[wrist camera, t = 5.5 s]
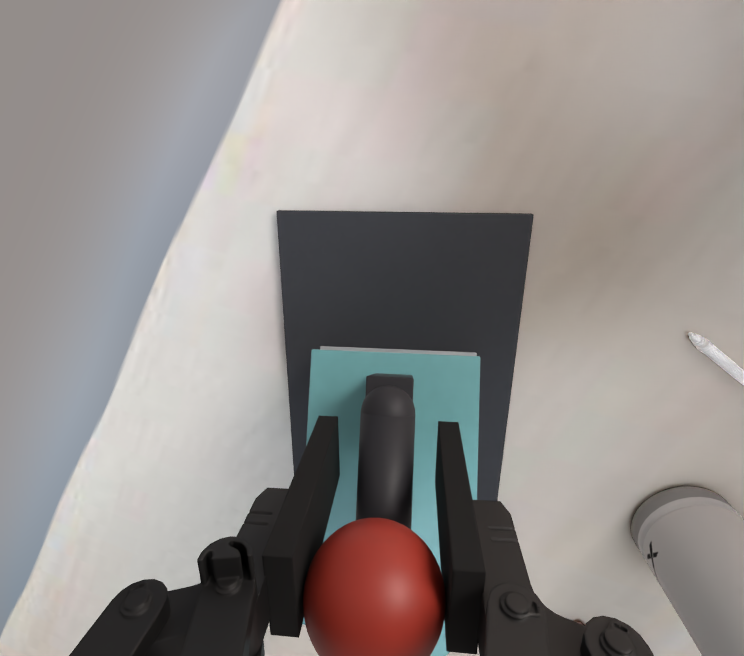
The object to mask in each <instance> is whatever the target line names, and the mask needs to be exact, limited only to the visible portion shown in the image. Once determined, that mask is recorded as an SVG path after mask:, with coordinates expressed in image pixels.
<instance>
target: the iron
mask: <svg viewBox="0 0 744 656" xmlns="http://www.w3.org/2000/svg"><path fill="white" fill-rule="evenodd" d="M479 395H480V357H479V356H477V353H475V352H451V351H427V350H403V349H379V348H355V347H331V346H320V350H319V349H312V351H311V368H310V386H309V404H308V423H307V441H306V446H307V443H308V441H309V438H310V436H311V433H312V431H313V428H314V426H315V423H316V421H317V419H318V416H319V415H320V416H338V430H339V461H340V477H339V481H338V485H337V489H336V493H335V497H334V501H333V505H332V509H331V513H330V516H329V520H328V524H327V528H326V532H325V536H324V540H323V544H322V545H321V547H320V548H319V549H318V551H317V552H316V554H315V556H314V558H313V560H312V562H311V564H310V567H309V569H308V572H307V576H306V580H305V584H304V593H303V611H304V619H303V623H302V624H304V625H306V628H307V632H308V634H309V637H310V640H311V642H312V644H313V646H314V648H315V650H316V652H317V653H318V655H319V656H446V655H447V654H448V653H449V652H448V651H446V637H445V623H444V619H445V611H446V594H445V586H444V581H443V577H442V574H441V564H440V549H439V534H438V519H437V504H436V490H435V470H436V452H437V433H438V421H447V422H459V428H460V433H461V439H462V444H463V450H464V455H465V461H466V466H467V472H468V477H469V483H470V488H471V494H472V499H473V500H477V477H478V436H479Z"/></svg>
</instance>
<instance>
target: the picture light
mask: <svg viewBox="0 0 744 656" xmlns="http://www.w3.org/2000/svg"><path fill="white" fill-rule="evenodd" d="M688 335H689V338H690V340H691V341H692V344H693V345H695V346H696V348H697V349H698V350H699V351H700V352H702V353H704V354H705V355H706V356H708V357H709V358H710V359H711V360H713V361H714V362H715V363H716V364H717V365H719V366H720V367H721V368H722V369H723V370H725V371H726V372H727V373H728V374H730V375H731V376H732V377H733V378H734V379H736V380H737V381H738V382H739V383H741V384H742V385H743V386H744V370H743V369H742V368H741V367H739V366H738V365H737V364H736V363H734V362H733V361H732V360H731V359H730V358H728V357H727V356H726V355H725V354H724V353H722V352H721V351H720V350H719V349H718V348H716V347H715V346H714V345H713V343H712V342H711V341H709V340H708V339H705V338H704V337H703V336H700V335H698V334H695V333H692V332H689V333H688Z"/></svg>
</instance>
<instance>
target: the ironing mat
mask: <svg viewBox="0 0 744 656" xmlns="http://www.w3.org/2000/svg"><path fill="white" fill-rule="evenodd" d="M532 223H533V214H511V213H435V212H358V211H281V210H279V211H277V224H278V239H279V254H280V269H281V284H282V299H283V314H284V329H285V344H286V359H287V374H288V389H289V404H290V419H291V434H292V449H293V464H294V475H295V473H296V470H297V468H298V465H299V463H300V460H301V458H302V455H303V453H304V450H305V448H306V441H307V423H308V404H309V386H310V368H311V351H312V349H319V350H320V346H331V347H355V348H379V349H403V350H427V351H451V352H475V353H477V356H479V357H480V395H479V436H478V477H477V500H487V501H497V497H498V489H499V481H500V473H501V465H502V458H503V450H504V442H505V434H506V426H507V418H508V411H509V403H510V395H511V387H512V379H513V371H514V364H515V356H516V348H517V340H518V332H519V324H520V317H521V309H522V301H523V293H524V285H525V278H526V270H527V262H528V254H529V246H530V238H531V231H532Z"/></svg>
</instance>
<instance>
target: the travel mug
mask: <svg viewBox="0 0 744 656" xmlns="http://www.w3.org/2000/svg"><path fill="white" fill-rule="evenodd" d="M631 533H632V538H633V540H634V542H635V544H636V545H637V547H638V549H639V550H640V552H641V554H642V555H643V557H644V559H645V560H646V562H647V564H648V566H649V567H650V569H651V571H652V572H653V574H654V576H655V577H656V579H657V581H658V582H659V584H660V586H661V587H662V589H663V591H664V592H665V594H666V596H667V597H668V599H669V601H670V602H671V604H672V606H673V607H674V609H675V611H676V612H677V614H678V616H679V617H680V619H681V621H682V622H683V624H684V626H685V627H686V629H687V631H688V632H689V634H690V636H691V637H692V639H693V641H694V642H695V644H696V646H697V647H698V649H699V651H700V652H701V654H702V656H744V519H743V518H742V517H741V516H740V515H739V514H738V512H737V511H736V510H735V509H734V508H733V507H732V506H731V505H730V504H729V503H728V502H727V501H726V500H725V499H724V498H723V497H721V496H720V495H719V494H717V493H715V492H713V491H711V490H707V489H704V488H700V487H691V486H686V487H676V488H671V489H667V490H664V491H661V492H659V493H657V494H655V495H653V496H651V497H650V498H649V499H647V500H646V501H645V502H644V503H643V504H642V505H641V506H640V507H639V508H638V510H637V511H636V513H635V514H634V517H633V520H632V523H631Z"/></svg>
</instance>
